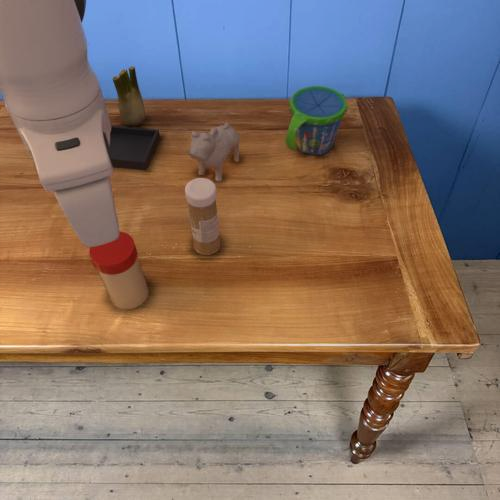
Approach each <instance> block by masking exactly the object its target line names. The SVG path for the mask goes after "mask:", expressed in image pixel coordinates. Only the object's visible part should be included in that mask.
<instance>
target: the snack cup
mask: <svg viewBox="0 0 500 500" xmlns="http://www.w3.org/2000/svg"><path fill="white" fill-rule="evenodd" d="M288 103H289V109H290V112H291V114H292V118H291V120H290V122H289V126H288V129H287V134H286V136H285V141H284V142H285V145H286V147H287V148H288V149H291V150H292V151H296V150H297V149H298V150H299V151H300V153H303V154H307V155H311V156H322V155H324V154H325V153H328V151H330V150H331V149H332V147H333V145H334V143H335V140H336V137H337V134H338V131H339V128H340V126H341V123H342V119H343V118H344V116H345V115H346V114H347V112H348V107H349V106H348V101H347V98H346V96H345V95H344V93H341V92H340V91H338V90H336V89H334V88H331V87H328V86H322V85H312V86H311V85H310V86H306V87H303V88H301V89H299V90H296V92H294V93H293V94H292V96H291V98H290V99H289V102H288Z"/></svg>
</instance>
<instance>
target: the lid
mask: <svg viewBox="0 0 500 500" xmlns="http://www.w3.org/2000/svg"><path fill="white" fill-rule="evenodd" d="M119 231H120V230H119ZM88 253H89V257H90V259H91V263H92V264H93V267H94V269H96V271H97V272H98V271H100V272H102V273H104V274H109V275H114V274H119V273H122V272H125V271H126V270H128V269H129V268H131V267H132V266H133V265H134V264H135V262H136V259H137V255H139V253H138V249H137V247H136V243H135V241H134V238H133V237H132V236H131V235H130V234H128V233H127V232H125V231H120V235H119V238H118V239H117V240H115V241H112V242H109V243H106V244H103V245H99V246H95V247H89V251H88Z"/></svg>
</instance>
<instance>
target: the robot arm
mask: <svg viewBox="0 0 500 500" xmlns="http://www.w3.org/2000/svg"><path fill="white" fill-rule="evenodd" d="M86 7H87V0H0V93H1V95H2V97H3V101H4V106H5V109H6V110H7V113H8V115H9V116H10V119H11V121H12V122H13V125H14V127H15V129H16V131H17V133H18V135H19V137H20V139H21V141H22V143H23V146H24V147H25V149H26V151H27V152H28V153H29V156H30V157H31V159H32V162H33V166H34V169H35V172H36V174H37V176H38V179H39V182H40V184H41V185H42V187H43V190H44V191H46V192H53V194H54V197H55V198H56V200H57V203H58V205H59V207H60V209H61V210H62V212H63V214H64V215H65V218H66V219H67V221H68V223H69V224H70V226H71V228H72V229H73V231H74V233H75V234H76V236H77V238H78V239H79V241H80V242H81V243H82V245H84V247H87V248H90V247H95V246H99V245H103V244H106V243H109V242H112V241H115V240H117V239H118V238H119V235H120V224H119V218H118V213H117V208H116V203H115V197H114V193H113V192H114V191H113V188H112V181H111V176H114V173H115V172H114V167H112V165H113V164H112V160H111V154H110V132H111V125H112V122H111V119H110V115H109V112H108V108H107V104H106V101H105V98H104V93H103V91H102V88H101V83H100V80H99V79H98V76H97V75H96V73H95V71H94V70H93V68H92V67H91V65H90V64H91V63H90V62H89V57H88V40H87V37H86V33H85V29H84V26H83V21H84V17H85V13H86V9H87V8H86Z"/></svg>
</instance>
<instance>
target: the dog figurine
mask: <svg viewBox="0 0 500 500" xmlns="http://www.w3.org/2000/svg"><path fill="white" fill-rule="evenodd" d="M190 135H191V141H190V147H189V148H190V149H189V151H188V153H187V156H189V157H190V158H191V159H192V160H195V161H196V162H197V163H198V164H199V169H198V173H197V174H198V175H199V176H203V175H205V174H206V170H207V169H213V171H214V172H215V177H214V179H215V181H216V182H221V181H222V180H223V168H224V166H225V163H226V160H227V158H228V156H229V154H230V153H231V152H232V153H233V161H234V162H237V163H238V162H240V135H239V133H238V131H237V130H236V129H235V128H233V127H232V126H231V124H230V122H225V123H224V124H220V125H218V126H217V127H216V126H213V127H212V128H211V129H210V130H209V133H207V132H202V131H195V130H194V131H192V132H191V134H190Z"/></svg>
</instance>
